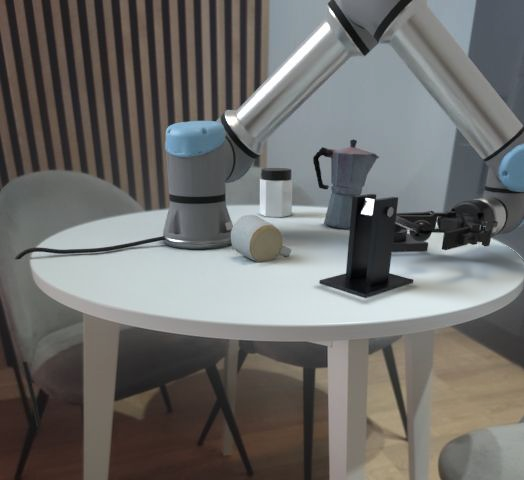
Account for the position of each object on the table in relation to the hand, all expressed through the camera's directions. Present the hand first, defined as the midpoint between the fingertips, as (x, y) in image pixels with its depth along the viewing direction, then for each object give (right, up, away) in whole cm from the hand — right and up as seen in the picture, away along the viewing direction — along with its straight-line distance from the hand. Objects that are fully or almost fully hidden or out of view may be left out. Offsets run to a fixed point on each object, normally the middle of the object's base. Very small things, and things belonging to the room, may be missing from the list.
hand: (408, 234), depth 81 cm
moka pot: (-4, +12, +43) cm, 45 cm away
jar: (-20, +19, +57) cm, 63 cm away
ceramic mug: (-24, -2, +13) cm, 27 cm away
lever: (-3, 0, -2) cm, 4 cm away
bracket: (-8, -9, -3) cm, 12 cm away
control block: (+2, +2, +21) cm, 21 cm away
